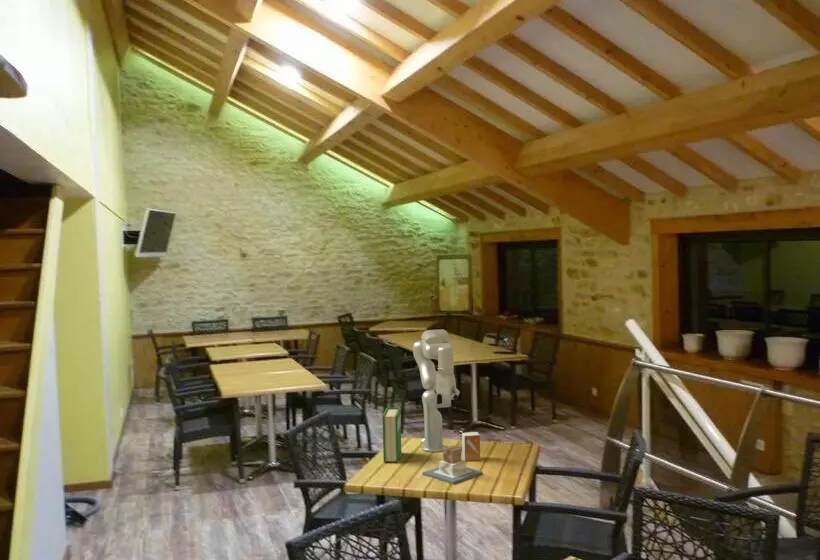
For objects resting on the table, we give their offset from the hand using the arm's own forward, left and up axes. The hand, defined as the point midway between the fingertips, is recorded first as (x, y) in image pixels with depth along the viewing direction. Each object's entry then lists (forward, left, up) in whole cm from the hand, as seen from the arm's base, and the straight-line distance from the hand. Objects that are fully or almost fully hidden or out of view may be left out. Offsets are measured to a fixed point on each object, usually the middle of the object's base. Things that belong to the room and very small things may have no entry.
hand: (446, 405), depth 343 cm
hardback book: (-29, -11, -30) cm, 43 cm away
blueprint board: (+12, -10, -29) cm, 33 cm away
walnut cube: (+12, -10, -23) cm, 28 cm away
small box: (+2, +14, -30) cm, 33 cm away
